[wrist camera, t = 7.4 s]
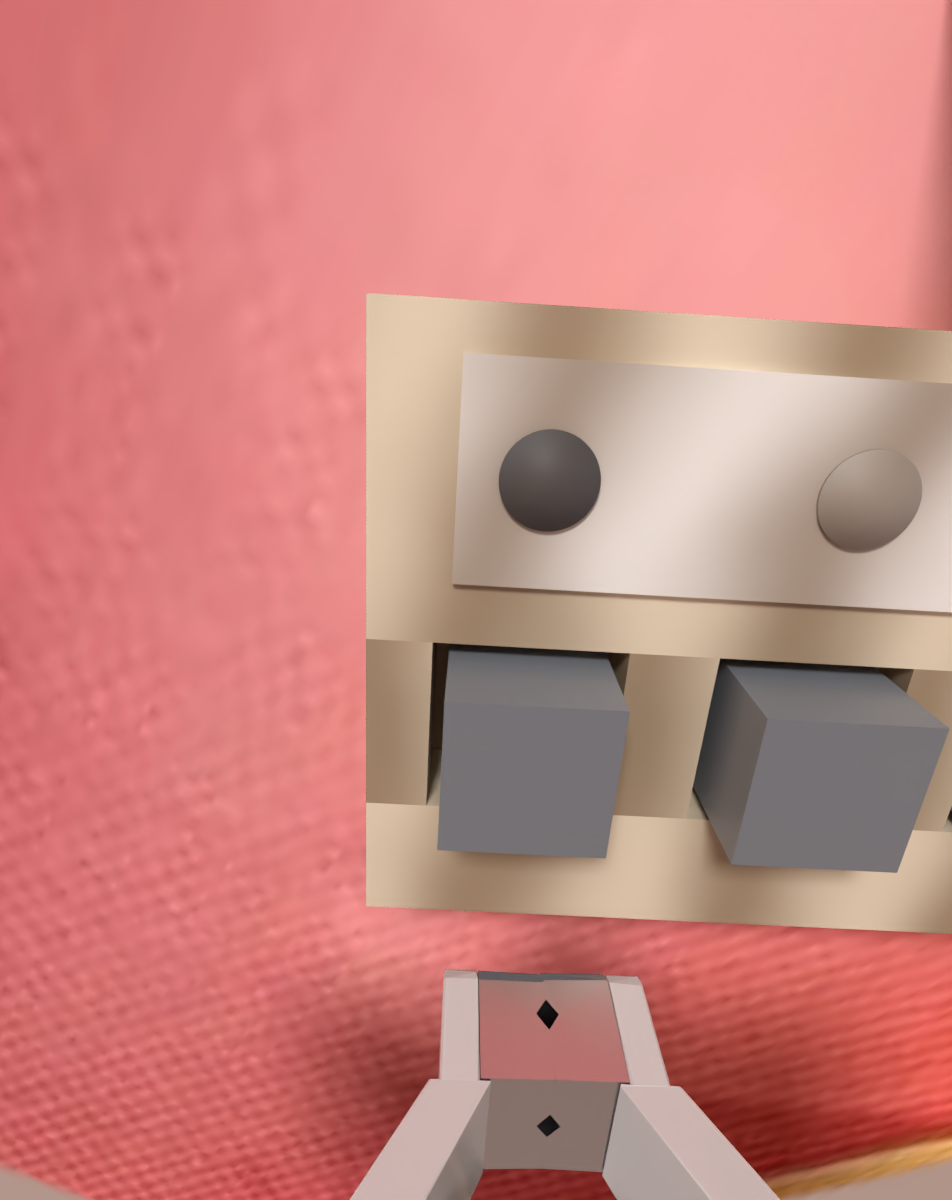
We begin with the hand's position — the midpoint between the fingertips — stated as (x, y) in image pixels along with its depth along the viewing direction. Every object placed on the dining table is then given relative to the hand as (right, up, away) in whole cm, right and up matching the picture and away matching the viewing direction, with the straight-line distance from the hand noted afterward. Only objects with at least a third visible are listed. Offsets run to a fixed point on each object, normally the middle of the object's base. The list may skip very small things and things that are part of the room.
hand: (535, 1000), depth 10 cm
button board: (+7, +5, +9) cm, 13 cm away
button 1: (0, +3, +8) cm, 8 cm away
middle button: (+7, +3, +8) cm, 11 cm away
